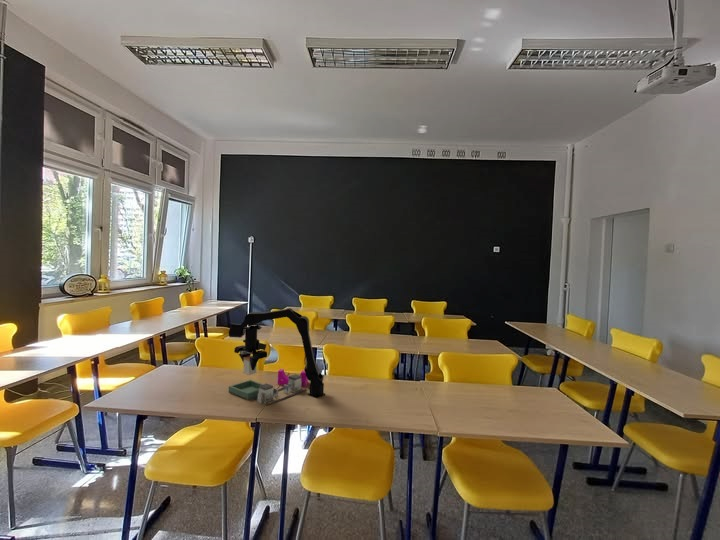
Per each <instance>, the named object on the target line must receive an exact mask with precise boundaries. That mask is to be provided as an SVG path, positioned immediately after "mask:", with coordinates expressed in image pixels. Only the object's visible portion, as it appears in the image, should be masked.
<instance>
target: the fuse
mask: <svg viewBox="0 0 720 540" xmlns="http://www.w3.org/2000/svg"><path fill="white" fill-rule="evenodd" d="M250 357H253V354H251V355H250V356H246V357H244V363H243V366H242V369H243V372H242V373H243V374H245V375H247V376H251V375H255V374H257V369H258V367H257V365H258V364H256V367H255V369H254V370H252V368H251V363H250Z"/></svg>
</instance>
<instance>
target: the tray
mask: <svg viewBox="0 0 720 540" xmlns="http://www.w3.org/2000/svg"><path fill="white" fill-rule="evenodd" d="M263 384H264V383H261V382H258V381H255V380H252V379H248V380H245V381H242V382H241V381H240V382H238V383H236V384H230V385H229V386H228V393H229V394H232V395H235V396H237V397H240V398H242V399H244V400H247V401H249V400H252V398H255V397H258V393H259V386H260V385H263Z"/></svg>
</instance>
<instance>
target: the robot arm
mask: <svg viewBox="0 0 720 540" xmlns="http://www.w3.org/2000/svg"><path fill="white" fill-rule="evenodd" d="M283 318H288V319H289V320H290V321H291V322H292V323H293V324H294V325H295V326H296V329H297V331H298V333H299V334H300V336H301V341H302V347H303V351H304V355H305V361H306V365H305V366H304V368H303V371H305V373H306V377H307V379H308V382H309V381H310V384H309V393H307V395H308V396H309V397H312V398H316V399H319V398H321V397H324V396H325V395H326V393H324V387H325V385H324V382H323V381H324V375H323V374H322V373H321V372H320V368H319V366H318V364H317V362H316V359H315V356H314V355H315V354H314V349H313V347H312V341H311V336H310V320H309V318H308V317H307V316H306V315H302V314H301V313H299V312H297V311H295V310H293V308H290V307H289V308H286V309H284V308H283V309H277V310H272V311H267V312H265V311H264V312H261V311H252V312H249V313H247V314H246V315H245V316H244V320H243V321H242V322H241V323H231V324H230V326H229V331H228V336H229V338H238V339H239V338H243V336H245V337H244V339H243V340H242V342H243V343H244V345H243V344H242V345H239V346H235V347H234V349H233V350H234V351H233V353H235V354H238V356H239V357H240V359H241V361H242V363H243V364H244V357H246V356H251V355H252V356H253V357H250V363H251V368H252V370H254V369H255V367H256V364H257V363H258V362H259V360H261V359H265V358H267V357H268V352H267V351H266V348H267V345H268V344H267V343H266V344H265V343H262V342H260V340H259V339H258V330H261V329H262V328H263V327H262V326H261V325H260V324H259V323H262V322H264V321H270V320H276V319H283ZM257 365H258V364H257Z"/></svg>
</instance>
